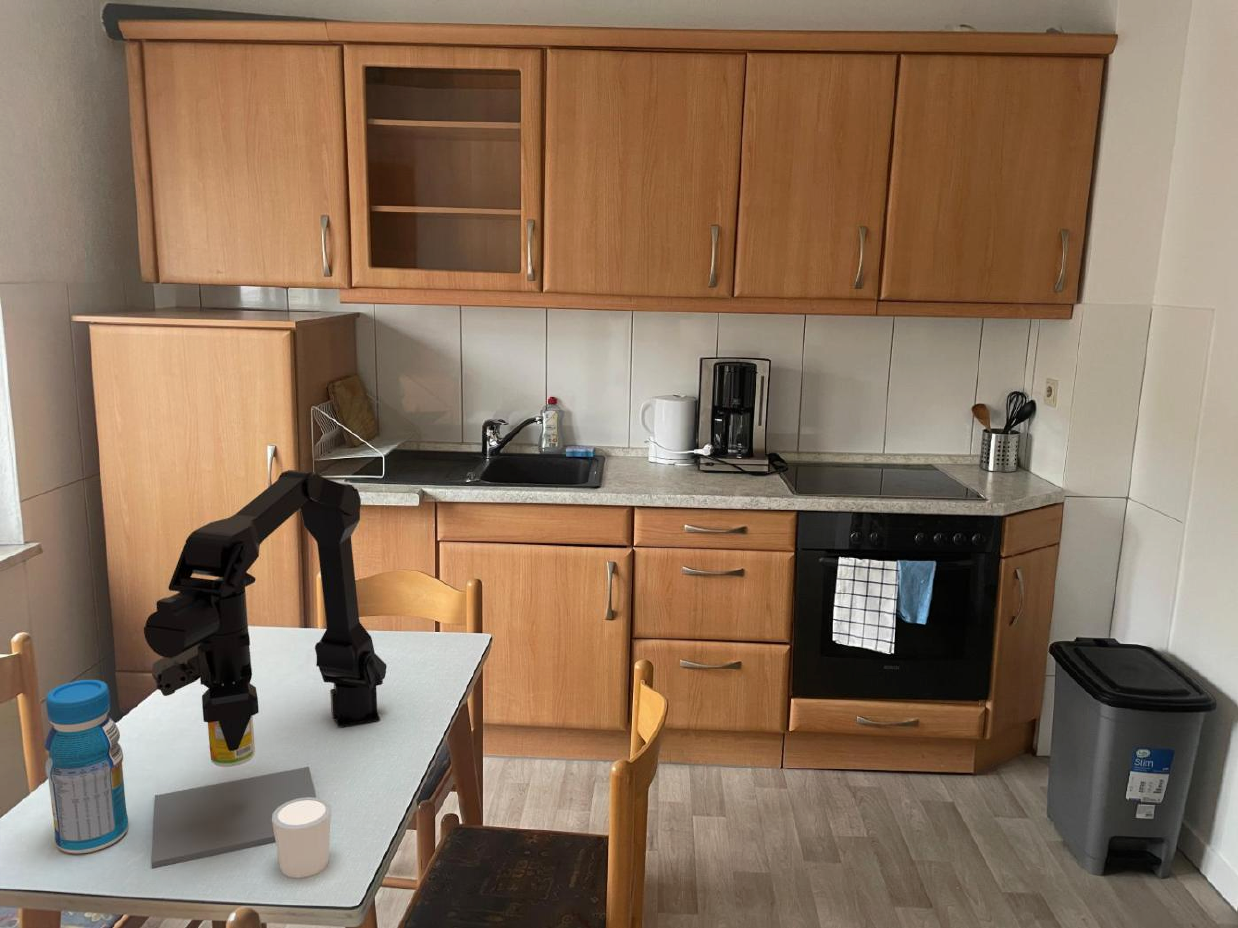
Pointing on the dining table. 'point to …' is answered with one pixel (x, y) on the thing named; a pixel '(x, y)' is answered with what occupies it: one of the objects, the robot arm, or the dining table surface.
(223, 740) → the supplement bottle
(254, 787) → the charcoal mat
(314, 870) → the cream cup
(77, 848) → the beverage bottle
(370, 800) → the dining table surface
